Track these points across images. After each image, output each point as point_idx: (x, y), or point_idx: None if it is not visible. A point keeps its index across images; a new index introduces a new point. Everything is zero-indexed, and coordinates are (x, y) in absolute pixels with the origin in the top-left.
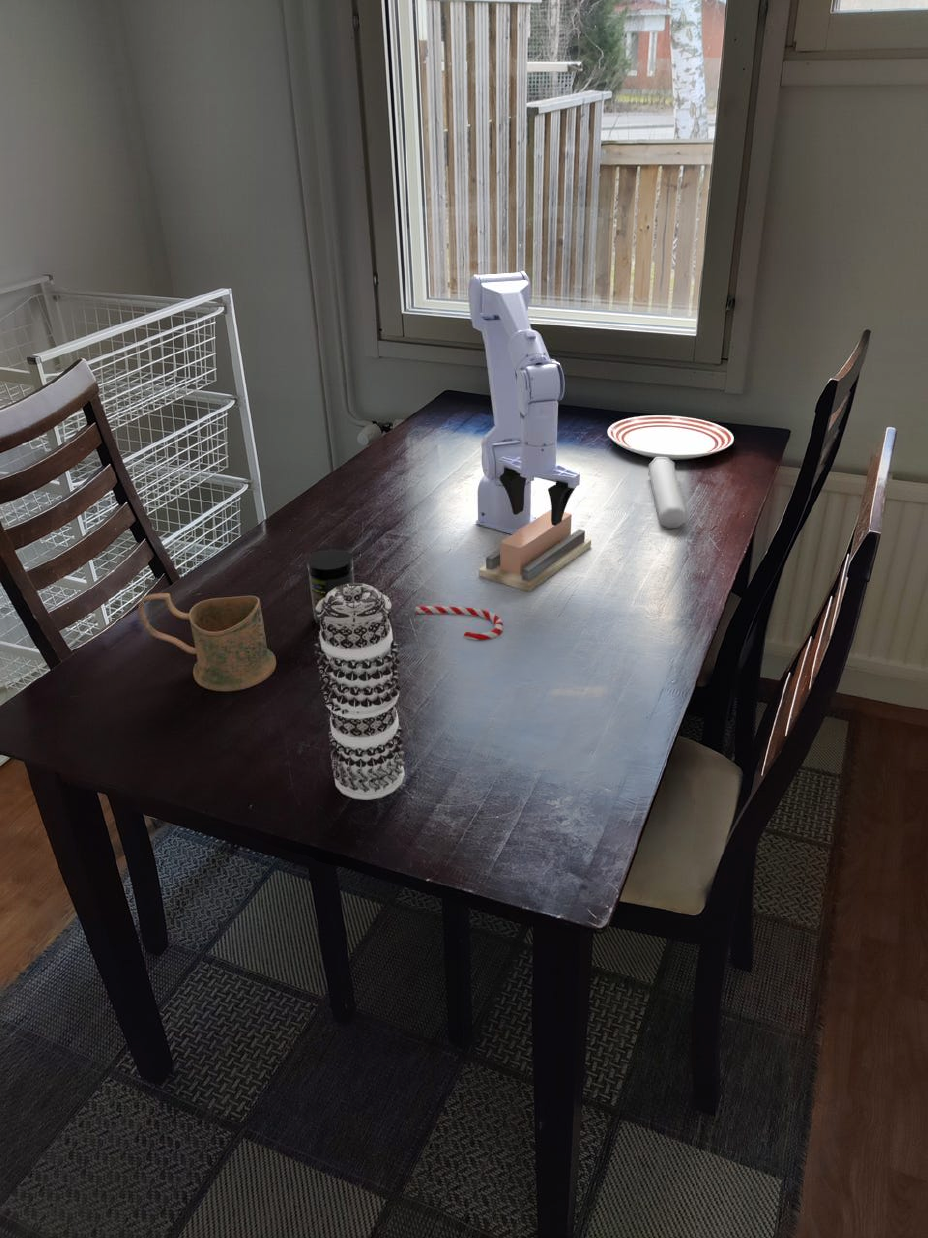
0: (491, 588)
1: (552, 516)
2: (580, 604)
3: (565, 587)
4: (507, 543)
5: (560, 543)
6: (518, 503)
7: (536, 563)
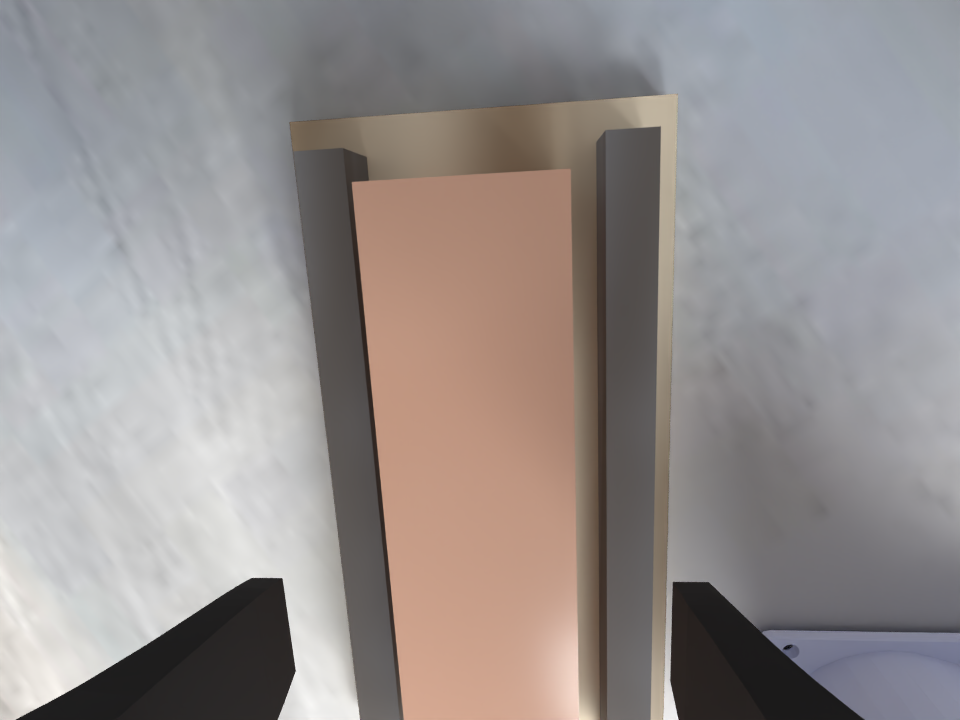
0: (503, 18)
1: (213, 621)
2: (31, 190)
3: (198, 297)
4: (500, 188)
5: (375, 581)
6: (704, 699)
7: (320, 273)
